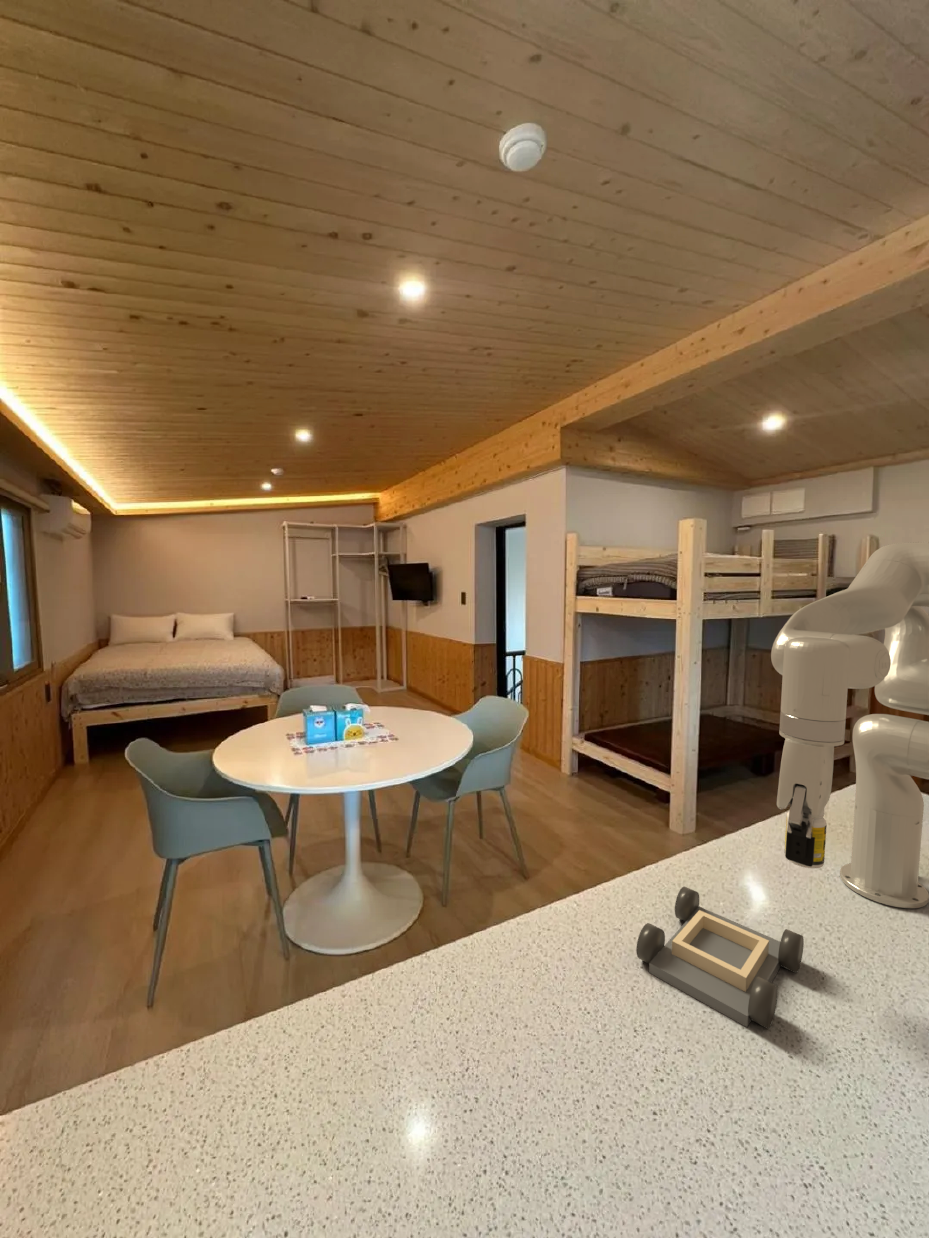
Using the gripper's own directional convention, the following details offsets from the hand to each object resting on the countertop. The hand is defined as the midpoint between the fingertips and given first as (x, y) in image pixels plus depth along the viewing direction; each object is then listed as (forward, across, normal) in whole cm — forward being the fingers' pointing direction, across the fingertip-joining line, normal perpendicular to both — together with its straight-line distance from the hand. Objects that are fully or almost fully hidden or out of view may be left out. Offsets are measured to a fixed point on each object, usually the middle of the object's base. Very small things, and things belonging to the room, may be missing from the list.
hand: (803, 853), depth 75 cm
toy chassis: (+18, +6, -9) cm, 21 cm away
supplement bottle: (+1, 0, 0) cm, 1 cm away
